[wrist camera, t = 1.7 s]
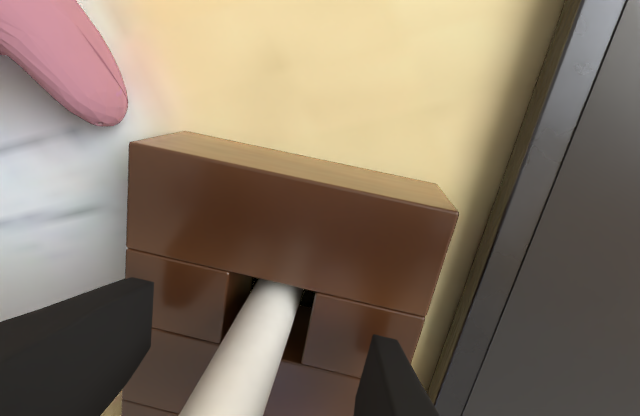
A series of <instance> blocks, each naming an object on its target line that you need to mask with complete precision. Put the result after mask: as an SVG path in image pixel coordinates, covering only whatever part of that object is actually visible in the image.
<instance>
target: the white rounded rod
mask: <svg viewBox="0 0 640 416" xmlns="http://www.w3.org/2000/svg"><path fill="white" fill-rule="evenodd" d="M303 290H304V289H303V288H298V287H294V286H290V285H285V284H281V283H277V282H273V281H268V280H264V279H260V278H259V279H258V281H257V283H256V284H255V286H254V288H253V290H252V291H251V293H250V295H249V296H248V298H247V300H246V302H245V303H244V305H243V307H242V308H241V310H240V312H239V313H238V315H237V317H236V319H235V320H234V322H233V324H232V325H231V327H230V329H229V331H228V332H227V334H226V336H225V337H224V339H223V341H222V342H221V344H220V346H219V348H218V349H217V351H216V353H215V354H214V356H213V358H212V360H211V361H210V363H209V365H208V366H207V368H206V370H205V371H204V373H203V375H202V377H201V378H200V380H199V382H198V383H197V385H196V387H195V389H194V390H193V392H192V394H191V395H190V397H189V399H188V400H187V402H186V404H185V406H184V407H183V409H182V411H181V412H180V414H179V416H263V414H264V411H265V408H266V405H267V402H268V398H269V395H270V392H271V389H272V386H273V383H274V380H275V377H276V374H277V371H278V368H279V364H280V361H281V358H282V355H283V352H284V349H285V346H286V343H287V340H288V337H289V334H290V331H291V327H292V324H293V321H294V318H295V315H296V312H297V309H298V306H299V303H300V300H301V297H302V293H303Z"/></svg>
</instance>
